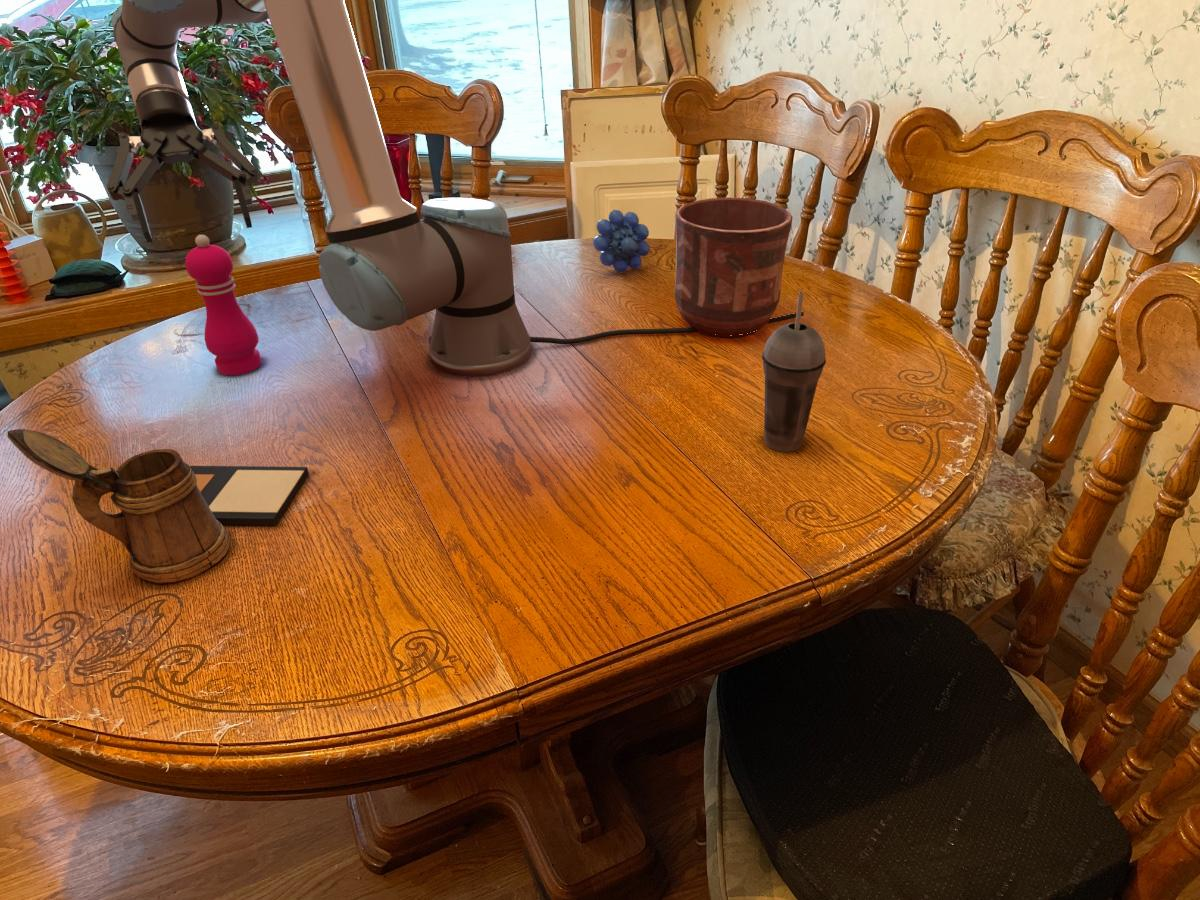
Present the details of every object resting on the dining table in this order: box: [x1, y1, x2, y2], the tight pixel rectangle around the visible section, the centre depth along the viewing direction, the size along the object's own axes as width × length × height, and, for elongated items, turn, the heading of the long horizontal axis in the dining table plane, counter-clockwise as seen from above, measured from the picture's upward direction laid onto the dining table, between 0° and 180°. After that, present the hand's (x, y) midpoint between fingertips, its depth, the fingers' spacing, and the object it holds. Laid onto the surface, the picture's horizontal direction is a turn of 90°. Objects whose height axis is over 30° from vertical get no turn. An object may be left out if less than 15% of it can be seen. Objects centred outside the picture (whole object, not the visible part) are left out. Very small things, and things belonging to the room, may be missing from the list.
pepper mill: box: [184, 234, 263, 376], centre depth 112 cm, size 7×7×20 cm
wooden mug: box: [6, 428, 231, 585], centre depth 75 cm, size 9×14×18 cm, turn 122°
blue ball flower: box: [592, 209, 651, 274], centre depth 144 cm, size 12×7×12 cm, turn 116°
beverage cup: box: [761, 290, 827, 453], centre depth 91 cm, size 7×7×20 cm
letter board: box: [189, 465, 310, 527], centre depth 88 cm, size 15×10×1 cm, turn 87°
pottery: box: [674, 196, 793, 340], centre depth 122 cm, size 18×18×18 cm
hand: (199, 230), depth 114 cm, fingers open, 13 cm apart
